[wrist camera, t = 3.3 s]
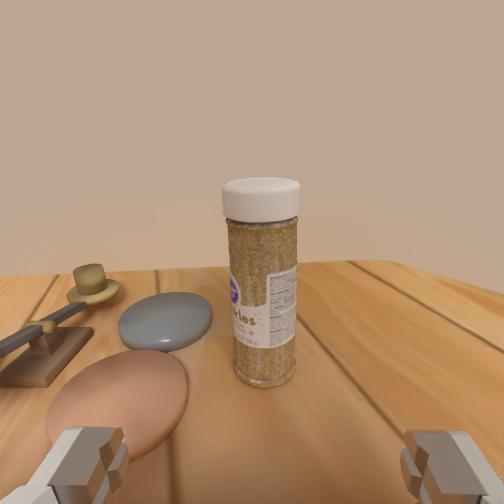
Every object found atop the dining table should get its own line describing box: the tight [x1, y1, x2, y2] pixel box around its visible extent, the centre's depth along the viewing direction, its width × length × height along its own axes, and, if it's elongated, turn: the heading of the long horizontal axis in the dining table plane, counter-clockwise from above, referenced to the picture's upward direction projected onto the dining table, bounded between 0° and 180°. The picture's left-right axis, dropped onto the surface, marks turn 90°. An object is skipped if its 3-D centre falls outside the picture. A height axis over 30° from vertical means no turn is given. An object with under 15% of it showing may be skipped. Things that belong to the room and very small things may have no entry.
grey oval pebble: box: [118, 292, 211, 353], centre depth 28 cm, size 8×8×1 cm
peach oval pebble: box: [46, 350, 188, 462], centre depth 19 cm, size 8×8×1 cm
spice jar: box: [222, 177, 301, 388], centre depth 20 cm, size 5×5×13 cm
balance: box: [0, 264, 119, 387], centre depth 23 cm, size 5×19×5 cm, turn 178°
